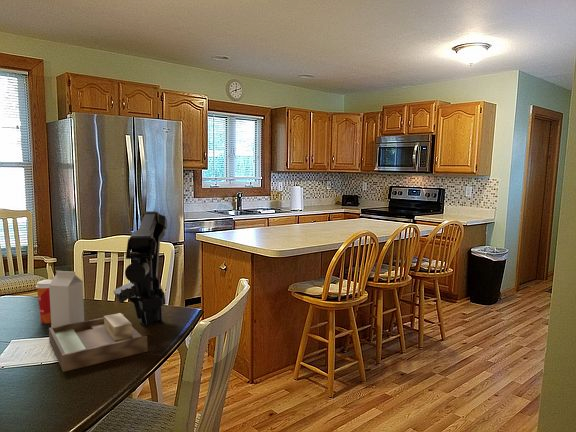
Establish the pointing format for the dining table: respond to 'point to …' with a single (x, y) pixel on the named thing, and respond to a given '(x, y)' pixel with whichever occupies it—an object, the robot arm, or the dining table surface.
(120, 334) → the cream rectangular block
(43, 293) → the paper cup
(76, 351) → the open tray box
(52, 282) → the milk carton
